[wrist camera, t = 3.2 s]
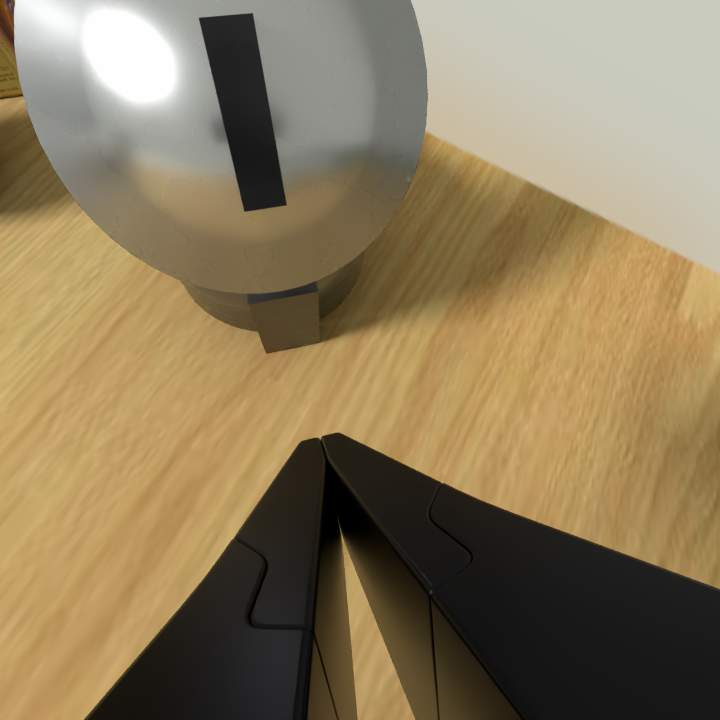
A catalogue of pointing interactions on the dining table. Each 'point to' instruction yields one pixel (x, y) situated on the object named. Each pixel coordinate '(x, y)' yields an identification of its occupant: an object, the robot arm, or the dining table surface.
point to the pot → (281, 308)
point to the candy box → (8, 52)
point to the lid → (229, 127)
